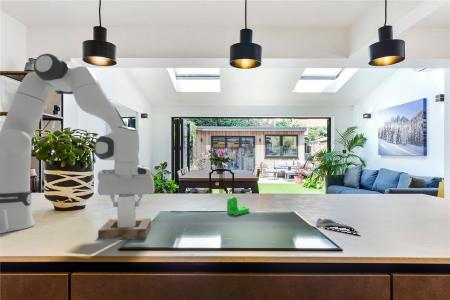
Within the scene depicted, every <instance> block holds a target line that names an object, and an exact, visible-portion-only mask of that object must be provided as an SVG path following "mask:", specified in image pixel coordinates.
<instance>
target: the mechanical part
mask: <svg viewBox="0 0 450 300" xmlns="http://www.w3.org/2000/svg"><path fill="white" fill-rule="evenodd" d="M226 209H227V211H226V214H227V213H228V215H232V214H234V215H233V216H240V215H243V213H244V214H247V212H248V213H249V212H250V207H249V206H243V205H242V206H238V198H237V197H235V196H229V198H228V199H227V203H226ZM239 214H240V215H239Z"/></svg>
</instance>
